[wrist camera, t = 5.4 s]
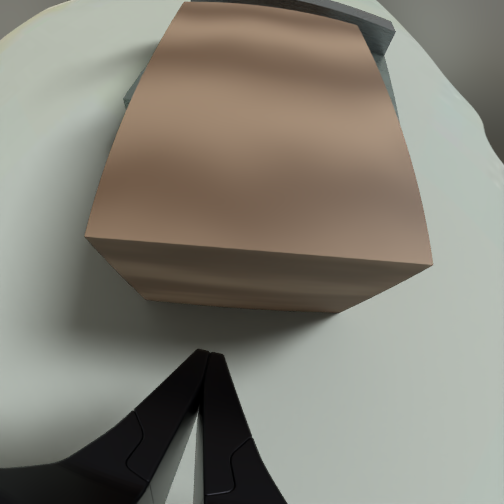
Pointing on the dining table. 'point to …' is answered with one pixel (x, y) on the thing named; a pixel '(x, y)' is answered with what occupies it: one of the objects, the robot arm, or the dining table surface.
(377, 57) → the vise
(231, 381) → the robot arm
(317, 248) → the workpiece block
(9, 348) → the dining table surface
